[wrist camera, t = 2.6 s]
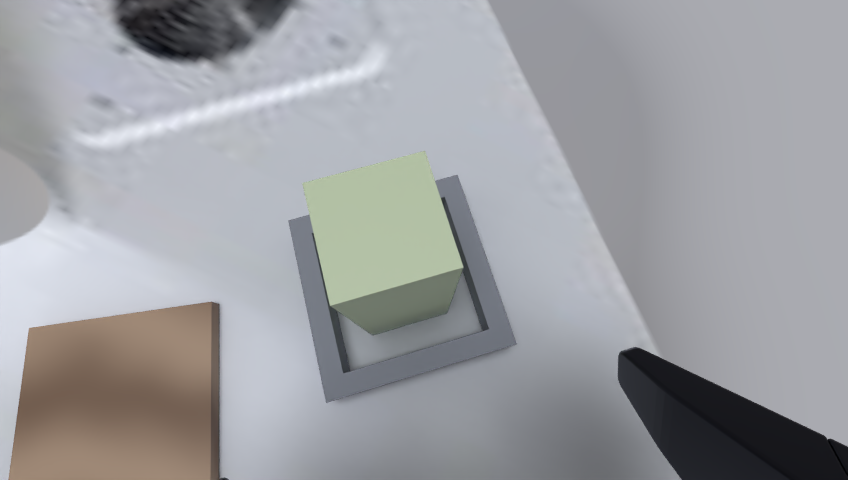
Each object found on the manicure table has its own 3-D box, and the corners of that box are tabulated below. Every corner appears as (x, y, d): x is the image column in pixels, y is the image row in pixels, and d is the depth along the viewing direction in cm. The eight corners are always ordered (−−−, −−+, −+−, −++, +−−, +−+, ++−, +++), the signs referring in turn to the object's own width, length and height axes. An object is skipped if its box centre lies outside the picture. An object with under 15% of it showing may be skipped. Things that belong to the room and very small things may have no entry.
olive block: (446, 313, 22) (463, 267, 12) (372, 335, 21) (330, 305, 12) (425, 242, 23) (424, 150, 13) (354, 262, 23) (302, 183, 13)
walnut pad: (218, 497, 19) (210, 502, 18) (17, 530, 19) (0, 536, 18) (219, 304, 22) (211, 301, 21) (43, 329, 22) (29, 328, 21)
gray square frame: (508, 346, 21) (516, 344, 19) (335, 400, 20) (326, 402, 19) (455, 190, 24) (457, 175, 22) (299, 232, 23) (288, 220, 21)
